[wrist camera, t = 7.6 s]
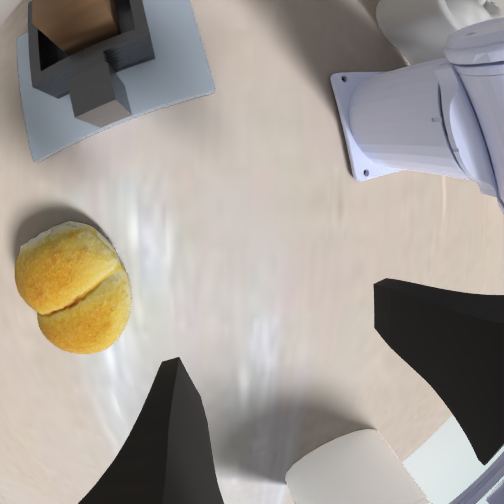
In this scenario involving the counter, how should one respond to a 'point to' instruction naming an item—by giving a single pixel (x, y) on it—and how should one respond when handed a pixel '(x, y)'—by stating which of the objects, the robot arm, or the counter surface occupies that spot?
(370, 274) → the counter surface
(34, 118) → the mounting board
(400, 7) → the lumpy-topped squat cylinder
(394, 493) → the canister
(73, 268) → the bread roll
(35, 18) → the brown rectangular block
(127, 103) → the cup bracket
